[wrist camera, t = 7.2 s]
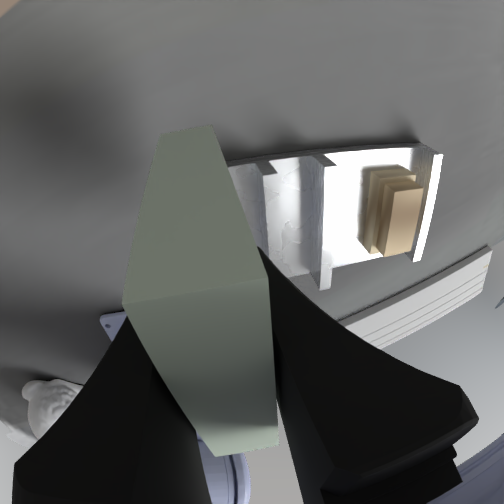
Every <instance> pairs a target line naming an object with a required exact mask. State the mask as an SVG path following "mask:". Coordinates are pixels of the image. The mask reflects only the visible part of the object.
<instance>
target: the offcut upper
mask: <svg viewBox="0 0 504 504" xmlns="http://www.w3.org/2000/svg"><path fill="white" fill-rule="evenodd" d="M423 189H424V188H423V187H421V186H420V185H419V184H417V183H416V182H415V181H404V182H395V183H387V184H385V186H384V194H383V202H382V210H381V217H380V224H379V231H378V237H377V243H376V248H377V250H378V251H379V252H380V253H381V254H382V256H383V257H387V256H391V255H395V254H400V253H404V252H408V251H411V247H412V243H413V239H414V235H415V230H416V225H417V221H418V216H419V211H420V206H421V200H422V195H423Z"/></svg>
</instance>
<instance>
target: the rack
mask: <svg viewBox="0 0 504 504" xmlns="http://www.w3.org/2000/svg"><path fill="white" fill-rule="evenodd" d="M441 162H442V154H440V153H439V152H437V151H435V150H433V149H432V148H430V147H428V146H426V145H424V144H423V143H395V144H376V145H360V146H347V147H335V148H325V149H315V150H305V151H297V152H288V153H280V154H273V155H265V156H258V157H251V158H245V159H238V160H232V161H226V164H227V167H228V170H229V172H230V175H231V178H232V181H233V183H234V186H235V189H236V191H237V194H238V197H239V199H240V202H241V205H242V208H243V210H244V213H245V216H246V218H247V221H248V224H249V227H250V229H251V232H252V235H253V238H254V240H255V243H256V246H258V247H260V248H261V249H262V250H263V251H264V253H265V254H266V255H267V256H268V258H269V259H270V260H271V261H272V262H273V263H274V265H275V266H276V267H277V268H278V269H279V270H280V271H281V272H282V273H283V274H284V275H285V276H286V277H287V278H288V277H292V276H297V275H302V274H306V273H311V275H312V277H313V279H314V281H315V283H316V285H317V286H318V288H319V290H324V289H328V288H330V285H331V275H332V268H334V267H338V266H343V265H347V264H352V263H356V262H360V261H365V260H369V259H373V258H378V257H382V254H381V253H377V254H373V255H369V253H368V252H367V251H366V249H365V248H364V247H363V240H364V232H365V224H366V216H367V207H368V197H369V186H370V175H371V171H379V170H390V169H400V168H407V169H408V170H410V171H411V172H413V173H414V174H416V180H415V182H416V183H417V184H419V185H420V186H421V187H423V188H424V189H423V195H422V200H421V206H420V211H419V216H418V221H417V225H416V230H415V235H414V239H413V243H412V247H411V251H408V252H404V253H405V254H406V255H407V256H408V257H409V258H410V260H411V261H412V262H415V261H419V260H420V259H421V256H422V252H423V248H424V244H425V241H426V237H427V232H428V228H429V224H430V220H431V215H432V211H433V206H434V201H435V196H436V191H437V186H438V180H439V175H440V169H441Z"/></svg>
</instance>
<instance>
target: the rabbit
mask: <svg viewBox="0 0 504 504" xmlns="http://www.w3.org/2000/svg"><path fill="white" fill-rule="evenodd" d="M82 388H83V386H82V385H77V384H74V383H70V382H67V381H64V380H60V379H54V380H52V381H42V380H33V381H29V382H27V383H26V384H25V386H24V387H23V389H22V396H23V398H24V399H26V400H28V401H29V407H28V421H29V424H30V427H31V429H32V431H33V433H34V435H35V436H36V437H37V438H38V440H39V439H40V438H41V437H42V436H43V435H44V434H45V433H46V432H47V431H48V429H49V428H50V427H51V426H52V425H53V424H54V423H55V422H56V421H57V419H58V418H59V417H60V416H61V415H62V413H63V412H64V411H65V410H66V409H67V407H68V406H69V405H70V404H71V402H72V401H73V400H74V398H75V397H76V396H77V394H78V393H79V392H80V390H81V389H82Z"/></svg>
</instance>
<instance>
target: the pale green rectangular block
mask: <svg viewBox="0 0 504 504" xmlns="http://www.w3.org/2000/svg"><path fill="white" fill-rule="evenodd" d="M122 306H123V308H124V310H125V312H126V314H127V316H128V318H129V320H130V322H131V324H132V326H133V328H134V330H135V331H136V333H137V335H138V337H139V339H140V341H141V343H142V344H143V346H144V348H145V350H146V352H147V353H148V355H149V357H150V359H151V360H152V362H153V364H154V365H155V367H156V369H157V371H158V372H159V374H160V376H161V377H162V379H163V381H164V382H165V384H166V385H167V387H168V389H169V390H170V392H171V393H172V395H173V397H174V398H175V400H176V401H177V403H178V404H179V406H180V407H181V409H182V411H183V412H184V414H185V415H186V417H187V418H188V419H189V421H190V422H191V424H192V425H193V427H194V428H195V430H196V431H197V433H198V434H199V435H200V437H201V438H202V440H203V441H204V442H205V444H206V445H207V446H208V448H209V449H210V451H211V452H212V453H213V455H214V456H215V457H218V456H225V455H231V454H237V453H243V452H248V451H253V450H258V449H263V448H268V447H272V446H277V445H279V435H278V419H277V401H276V385H275V369H274V354H273V340H272V325H271V311H270V297H269V284H268V276H267V273H266V270H265V268H264V265H263V262H262V259H261V257H260V254H259V251H258V248H257V246H256V243H255V240H254V238H253V235H252V232H251V229H250V227H249V224H248V221H247V218H246V216H245V213H244V210H243V208H242V205H241V202H240V199H239V197H238V194H237V191H236V189H235V186H234V183H233V181H232V178H231V175H230V172H229V170H228V167H227V164H226V162H225V159H224V156H223V154H222V151H221V148H220V146H219V143H218V140H217V137H216V135H215V132H214V129H213V127H212V125H207V126H202V127H196V128H190V129H185V130H180V131H175V132H170V133H165V134H161V135H160V137H159V141H158V144H157V147H156V151H155V154H154V158H153V161H152V165H151V168H150V172H149V176H148V179H147V183H146V187H145V191H144V195H143V199H142V203H141V207H140V211H139V216H138V220H137V225H136V229H135V234H134V238H133V243H132V248H131V253H130V258H129V264H128V269H127V275H126V280H125V286H124V292H123V299H122Z"/></svg>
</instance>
